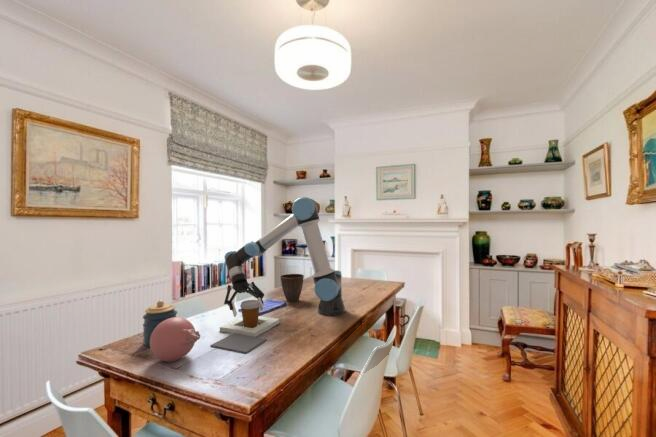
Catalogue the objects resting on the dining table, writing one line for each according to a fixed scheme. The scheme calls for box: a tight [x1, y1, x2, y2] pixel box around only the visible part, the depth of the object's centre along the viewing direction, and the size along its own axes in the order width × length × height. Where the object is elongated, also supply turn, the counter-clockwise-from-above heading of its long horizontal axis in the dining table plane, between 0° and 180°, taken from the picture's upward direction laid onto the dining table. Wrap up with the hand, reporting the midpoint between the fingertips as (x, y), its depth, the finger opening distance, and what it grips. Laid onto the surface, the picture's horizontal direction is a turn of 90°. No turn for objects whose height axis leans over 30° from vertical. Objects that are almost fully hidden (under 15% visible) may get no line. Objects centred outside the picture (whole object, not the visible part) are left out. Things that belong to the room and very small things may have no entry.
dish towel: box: [237, 299, 287, 316], centre depth 180 cm, size 17×24×3 cm
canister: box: [142, 300, 178, 348], centre depth 132 cm, size 13×13×18 cm
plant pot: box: [279, 273, 305, 303], centre depth 195 cm, size 15×15×16 cm
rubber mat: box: [210, 333, 268, 354], centre depth 129 cm, size 18×14×1 cm
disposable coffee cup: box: [239, 299, 260, 328], centre depth 148 cm, size 10×10×12 cm
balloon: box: [149, 316, 201, 362], centre depth 114 cm, size 15×20×15 cm
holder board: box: [219, 315, 280, 337], centre depth 148 cm, size 20×20×2 cm
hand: (249, 312), depth 148 cm, fingers open, 13 cm apart
